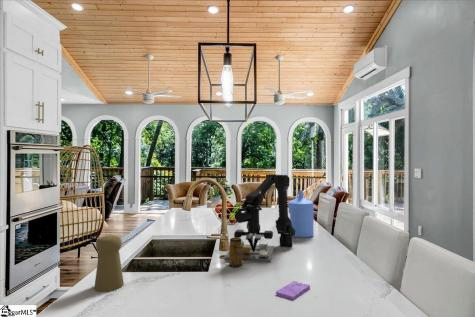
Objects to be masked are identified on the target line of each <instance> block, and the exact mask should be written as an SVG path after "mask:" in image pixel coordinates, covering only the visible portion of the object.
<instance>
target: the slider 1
mask: <svg viewBox="0 0 475 317" xmlns="http://www.w3.org/2000/svg"><path fill="white" fill-rule="evenodd" d="M242 253H248V254H250V253H251V246H243V247H242Z"/></svg>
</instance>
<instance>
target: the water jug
mask: <svg viewBox="0 0 475 317" xmlns="http://www.w3.org/2000/svg"><path fill="white" fill-rule="evenodd" d="M297 192H298V193H297V197H296V198H294V199H292V200H289V202H288V204H287V205H288V214H289V219H290V220H291V223H292V227H293V228H294V230H295V231H296V232H295V235H294V236H292V238H293V237H294V238H299V239H301V238H302V239H306V238H312V237H313V236H314V235H315V234H314V232H315V231H314V220H315V219H314V202H313V201H311V200H309V199H307V198H305V197H304V191H303V190H298V191H297Z"/></svg>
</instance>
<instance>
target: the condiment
mask: <svg viewBox="0 0 475 317" xmlns="http://www.w3.org/2000/svg"><path fill="white" fill-rule="evenodd" d="M241 239H242V237H240V238H236V237H231V238H230V239H229V245H228V252H229V260H228V262H226V263H225V264H226V265H227V266H228V267H229V269H243V268H247V266H246V265H245V264H244V263H243V261H242V244H241V243H242V242H241Z"/></svg>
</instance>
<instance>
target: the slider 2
mask: <svg viewBox="0 0 475 317" xmlns="http://www.w3.org/2000/svg"><path fill="white" fill-rule="evenodd" d="M258 245H259V250H267V249H268V246H269V245H268V242H259V244H258Z"/></svg>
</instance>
